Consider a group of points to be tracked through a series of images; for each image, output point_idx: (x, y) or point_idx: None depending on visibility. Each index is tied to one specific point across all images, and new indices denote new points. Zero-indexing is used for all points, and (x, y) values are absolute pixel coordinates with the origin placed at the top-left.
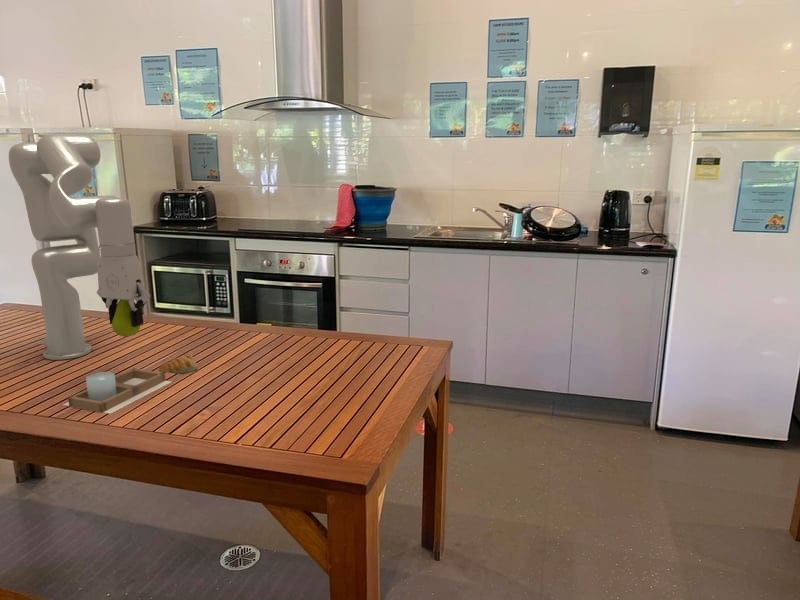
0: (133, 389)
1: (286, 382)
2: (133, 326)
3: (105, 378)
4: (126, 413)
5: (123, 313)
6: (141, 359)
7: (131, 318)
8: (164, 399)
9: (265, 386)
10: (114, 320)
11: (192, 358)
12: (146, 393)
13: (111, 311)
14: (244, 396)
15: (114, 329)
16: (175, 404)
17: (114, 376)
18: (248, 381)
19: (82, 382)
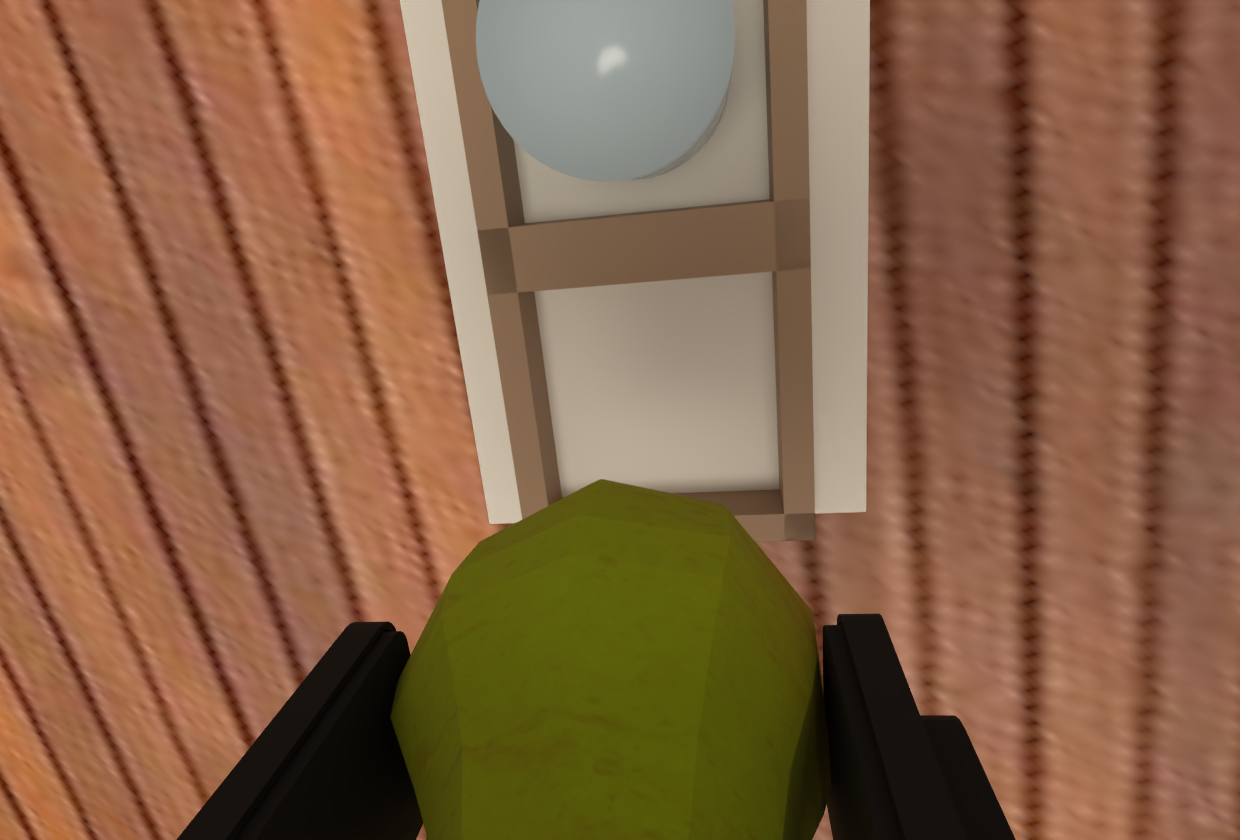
0: (481, 241)
1: (47, 741)
2: (365, 623)
3: (509, 27)
4: (387, 57)
5: (460, 793)
6: (1059, 782)
7: (302, 716)
8: (371, 336)
9: (82, 673)
10: (656, 599)
11: None
12: (467, 310)
13: (871, 830)
14: (55, 539)
15: (678, 498)
16: (254, 307)
17: (511, 134)
18: (200, 698)
19: (1160, 323)
